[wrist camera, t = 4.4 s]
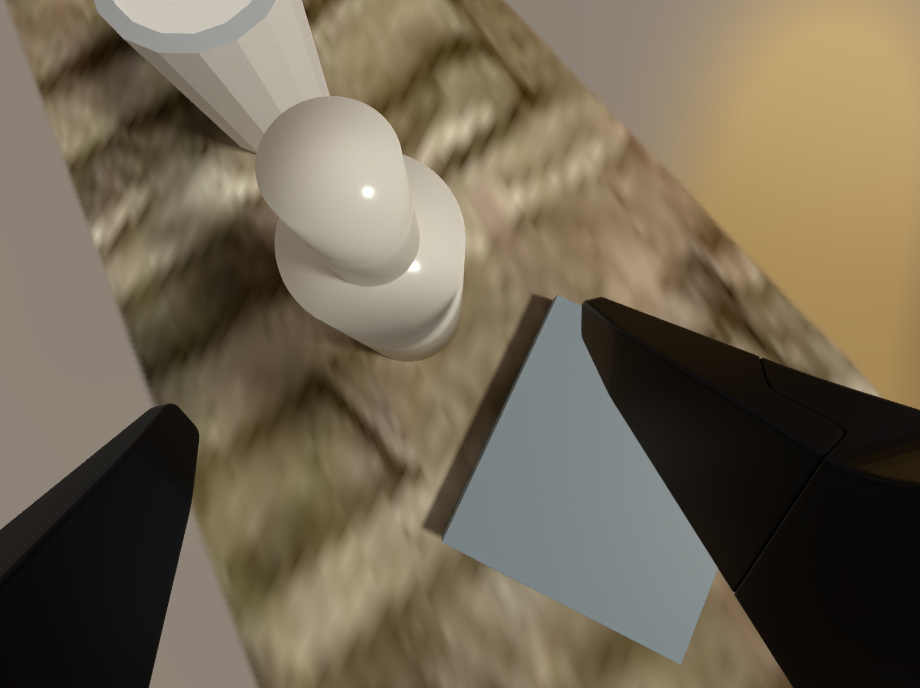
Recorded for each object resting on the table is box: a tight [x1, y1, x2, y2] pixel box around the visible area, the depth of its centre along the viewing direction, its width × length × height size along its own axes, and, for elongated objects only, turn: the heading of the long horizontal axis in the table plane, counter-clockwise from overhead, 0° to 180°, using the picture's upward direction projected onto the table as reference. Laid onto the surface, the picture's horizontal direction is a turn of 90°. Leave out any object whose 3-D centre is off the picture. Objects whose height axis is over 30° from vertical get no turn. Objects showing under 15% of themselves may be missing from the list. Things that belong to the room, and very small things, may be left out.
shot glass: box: [94, 0, 330, 154], centre depth 17 cm, size 7×7×7 cm
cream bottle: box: [255, 96, 465, 362], centre depth 13 cm, size 5×5×12 cm
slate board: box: [442, 295, 718, 665], centre depth 18 cm, size 12×11×1 cm
